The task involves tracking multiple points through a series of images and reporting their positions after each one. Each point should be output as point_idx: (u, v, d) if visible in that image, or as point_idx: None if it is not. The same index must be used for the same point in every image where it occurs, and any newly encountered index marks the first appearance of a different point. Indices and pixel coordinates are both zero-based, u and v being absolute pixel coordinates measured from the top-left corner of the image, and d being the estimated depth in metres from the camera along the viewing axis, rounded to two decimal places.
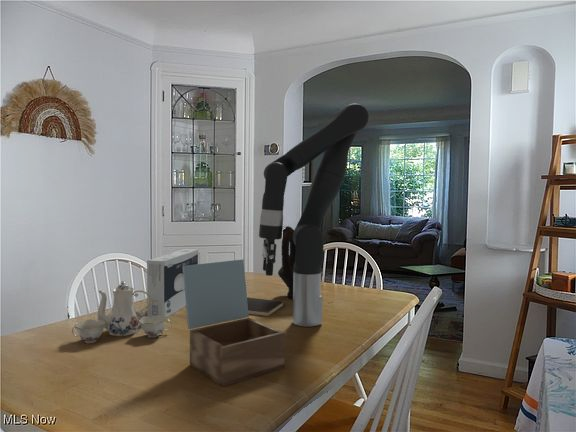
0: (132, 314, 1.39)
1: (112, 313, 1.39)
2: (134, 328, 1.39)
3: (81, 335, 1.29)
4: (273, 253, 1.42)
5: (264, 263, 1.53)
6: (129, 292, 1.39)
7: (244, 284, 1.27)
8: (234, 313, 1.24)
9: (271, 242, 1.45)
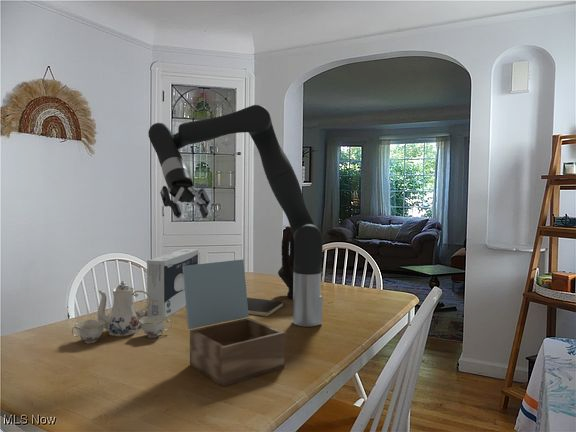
0: (132, 314, 1.39)
1: (112, 313, 1.38)
2: (134, 328, 1.39)
3: (81, 335, 1.29)
4: (164, 194, 1.32)
5: (201, 211, 1.37)
6: (129, 292, 1.39)
7: (244, 284, 1.27)
8: (234, 313, 1.24)
9: (170, 188, 1.35)
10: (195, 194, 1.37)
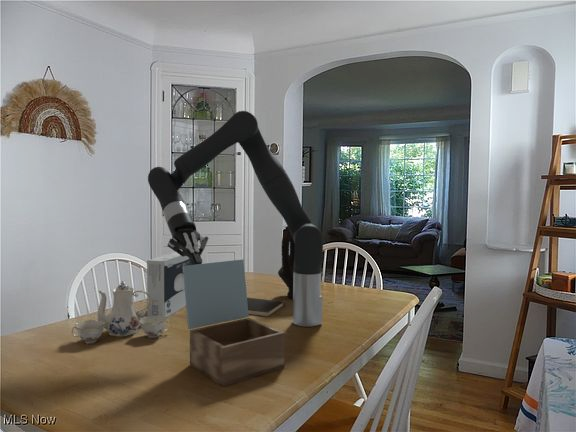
0: (132, 314, 1.39)
1: (112, 313, 1.38)
2: (134, 328, 1.38)
3: (81, 335, 1.29)
4: (176, 247, 1.30)
5: None
6: (129, 292, 1.39)
7: (244, 284, 1.27)
8: (234, 313, 1.24)
9: None
10: (194, 240, 1.33)
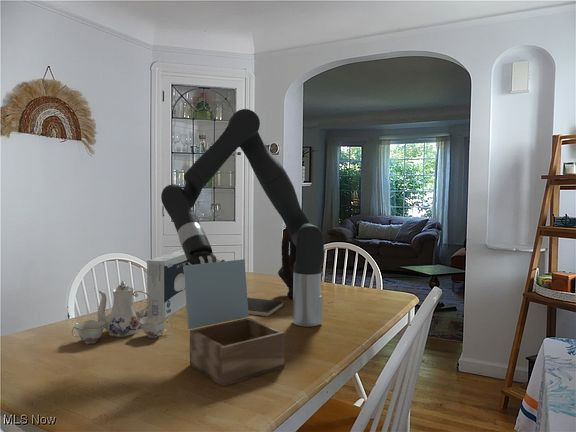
0: (132, 314, 1.39)
1: (112, 313, 1.38)
2: (134, 328, 1.38)
3: (81, 335, 1.29)
4: None
5: None
6: (129, 292, 1.39)
7: (244, 284, 1.27)
8: (234, 313, 1.24)
9: (188, 258, 1.26)
10: None
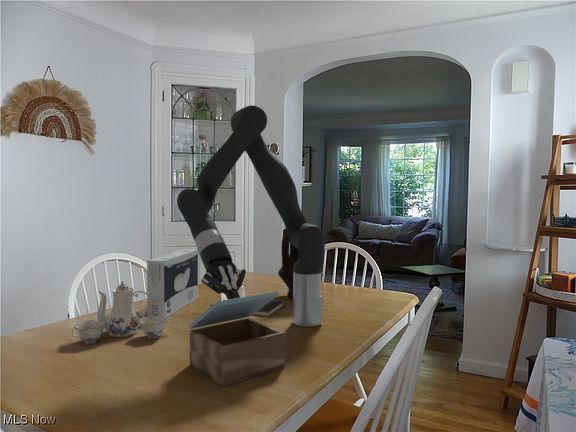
0: (132, 314, 1.39)
1: (112, 314, 1.38)
2: (134, 329, 1.38)
3: (81, 336, 1.29)
4: (212, 283, 1.14)
5: None
6: (129, 292, 1.38)
7: (263, 305, 1.20)
8: (237, 317, 1.23)
9: (207, 268, 1.17)
10: (231, 274, 1.17)
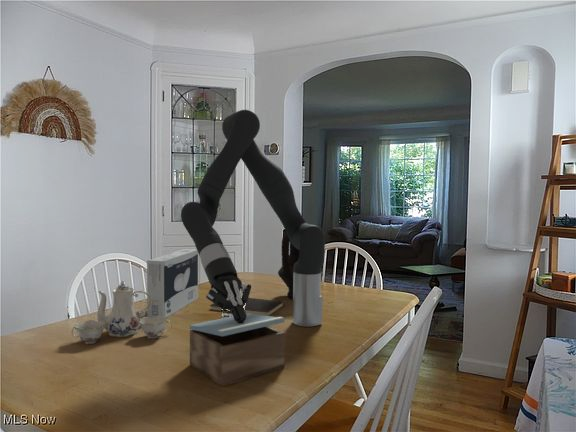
0: (132, 315, 1.39)
1: (112, 314, 1.38)
2: (134, 329, 1.38)
3: (81, 336, 1.29)
4: (217, 300, 1.12)
5: None
6: (129, 292, 1.38)
7: None
8: None
9: (212, 283, 1.16)
10: (236, 290, 1.16)
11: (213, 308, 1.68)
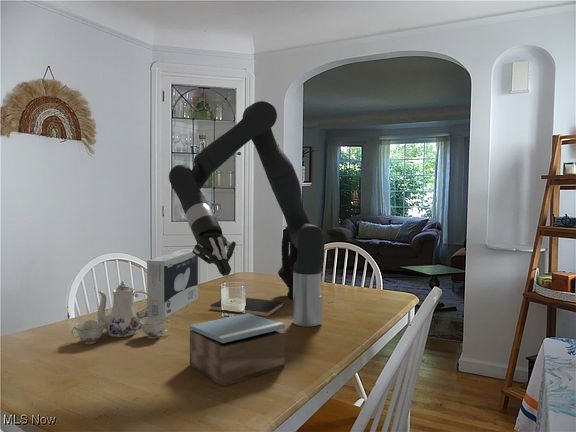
0: (132, 315, 1.38)
1: (112, 314, 1.38)
2: (134, 329, 1.38)
3: (81, 336, 1.28)
4: (203, 254, 1.18)
5: None
6: (129, 293, 1.38)
7: None
8: None
9: None
10: (221, 246, 1.21)
11: (213, 308, 1.68)
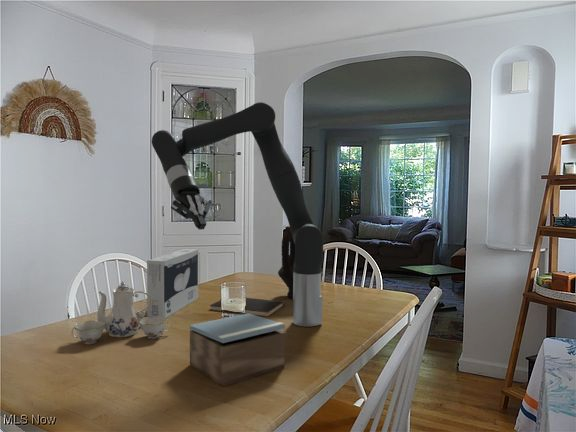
0: (132, 315, 1.38)
1: (112, 314, 1.38)
2: (134, 329, 1.38)
3: (81, 336, 1.28)
4: (180, 209, 1.27)
5: None
6: (129, 293, 1.38)
7: None
8: None
9: (177, 197, 1.30)
10: (198, 203, 1.30)
11: (213, 308, 1.67)
